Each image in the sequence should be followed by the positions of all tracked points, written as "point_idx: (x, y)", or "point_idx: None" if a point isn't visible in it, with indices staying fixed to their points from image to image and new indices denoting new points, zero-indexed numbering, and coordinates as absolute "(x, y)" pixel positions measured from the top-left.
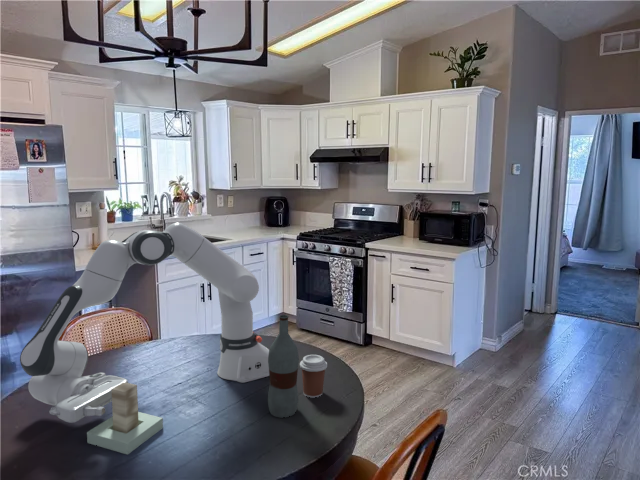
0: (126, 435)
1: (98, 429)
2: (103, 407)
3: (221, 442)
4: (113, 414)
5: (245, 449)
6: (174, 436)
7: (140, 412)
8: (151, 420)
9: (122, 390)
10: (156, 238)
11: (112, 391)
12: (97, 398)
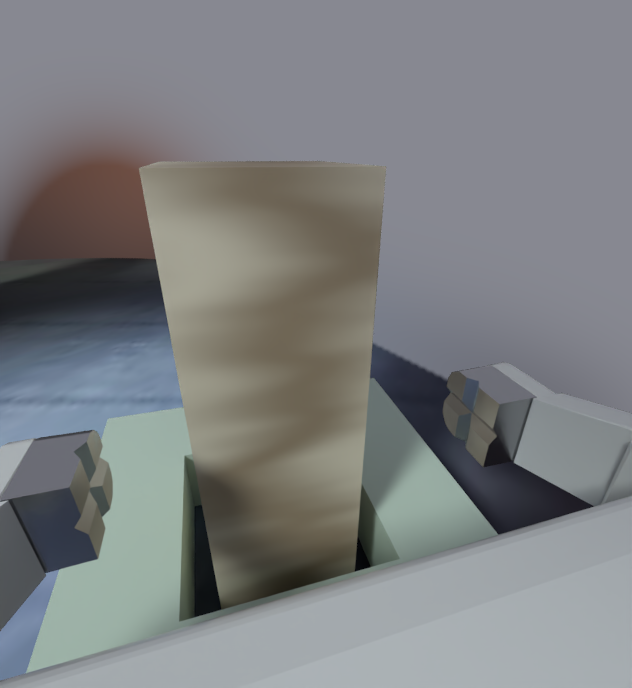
0: None
1: None
2: (464, 373)
3: (152, 322)
4: (360, 442)
5: (161, 296)
6: (174, 398)
7: (59, 577)
8: (156, 436)
9: (315, 162)
10: None
11: (377, 197)
12: (533, 528)
